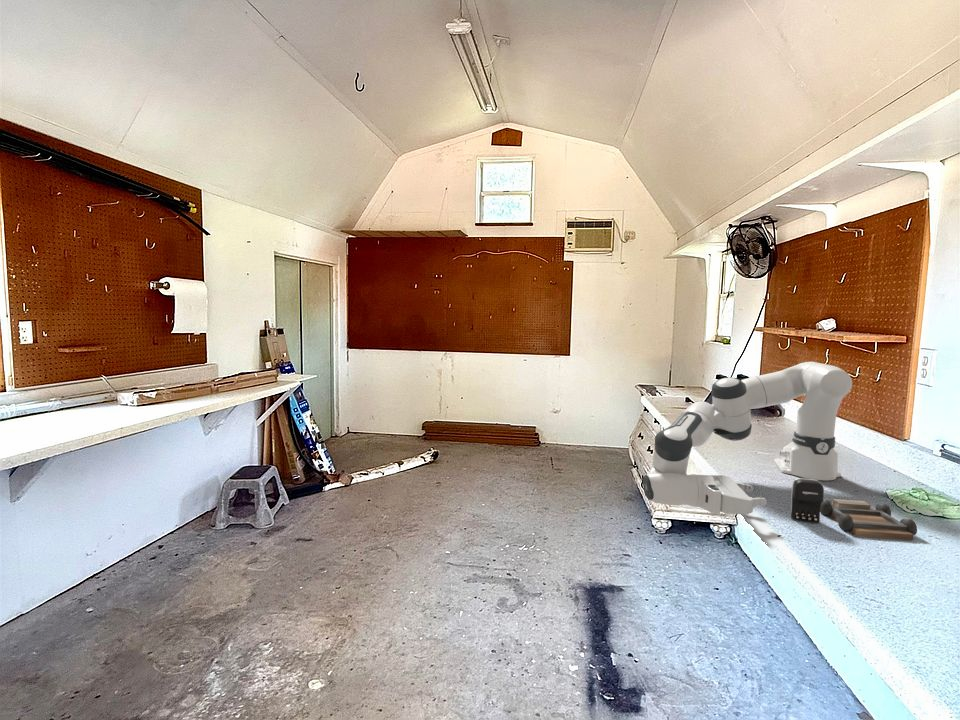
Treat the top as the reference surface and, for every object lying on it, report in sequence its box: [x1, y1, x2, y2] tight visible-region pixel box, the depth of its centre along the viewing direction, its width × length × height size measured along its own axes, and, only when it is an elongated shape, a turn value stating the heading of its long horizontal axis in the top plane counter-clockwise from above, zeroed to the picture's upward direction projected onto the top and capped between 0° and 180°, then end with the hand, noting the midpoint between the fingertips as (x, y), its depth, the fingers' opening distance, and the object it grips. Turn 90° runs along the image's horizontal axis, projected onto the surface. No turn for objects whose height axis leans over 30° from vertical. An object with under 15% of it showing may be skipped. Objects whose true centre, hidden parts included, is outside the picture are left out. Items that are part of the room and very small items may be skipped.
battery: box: [789, 477, 825, 524], centre depth 135 cm, size 7×4×11 cm, turn 72°
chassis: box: [820, 498, 918, 541], centre depth 134 cm, size 17×16×4 cm
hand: (758, 494), depth 137 cm, fingers open, 8 cm apart
